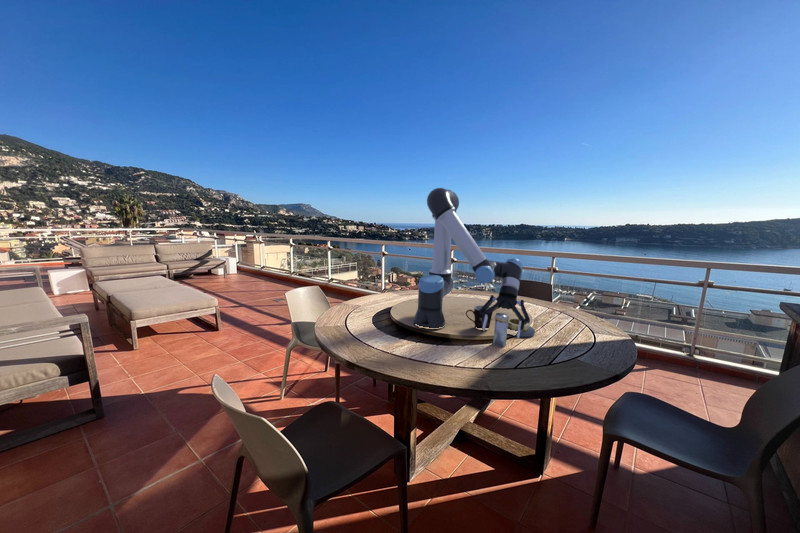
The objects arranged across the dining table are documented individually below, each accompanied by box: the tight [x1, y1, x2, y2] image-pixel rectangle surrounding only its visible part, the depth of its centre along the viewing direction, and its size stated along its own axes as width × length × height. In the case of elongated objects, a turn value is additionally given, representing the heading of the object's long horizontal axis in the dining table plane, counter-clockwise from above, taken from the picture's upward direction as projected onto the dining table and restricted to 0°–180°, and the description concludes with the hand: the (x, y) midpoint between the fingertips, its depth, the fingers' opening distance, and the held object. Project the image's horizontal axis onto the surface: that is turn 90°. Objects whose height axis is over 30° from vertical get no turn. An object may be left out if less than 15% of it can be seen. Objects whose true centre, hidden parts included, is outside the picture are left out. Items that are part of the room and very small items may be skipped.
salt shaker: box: [492, 312, 510, 348], centre depth 120 cm, size 5×5×13 cm
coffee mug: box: [465, 305, 494, 329], centre depth 138 cm, size 12×9×10 cm
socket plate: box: [507, 317, 536, 339], centre depth 136 cm, size 15×15×4 cm
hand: (500, 333), depth 119 cm, fingers open, 13 cm apart
